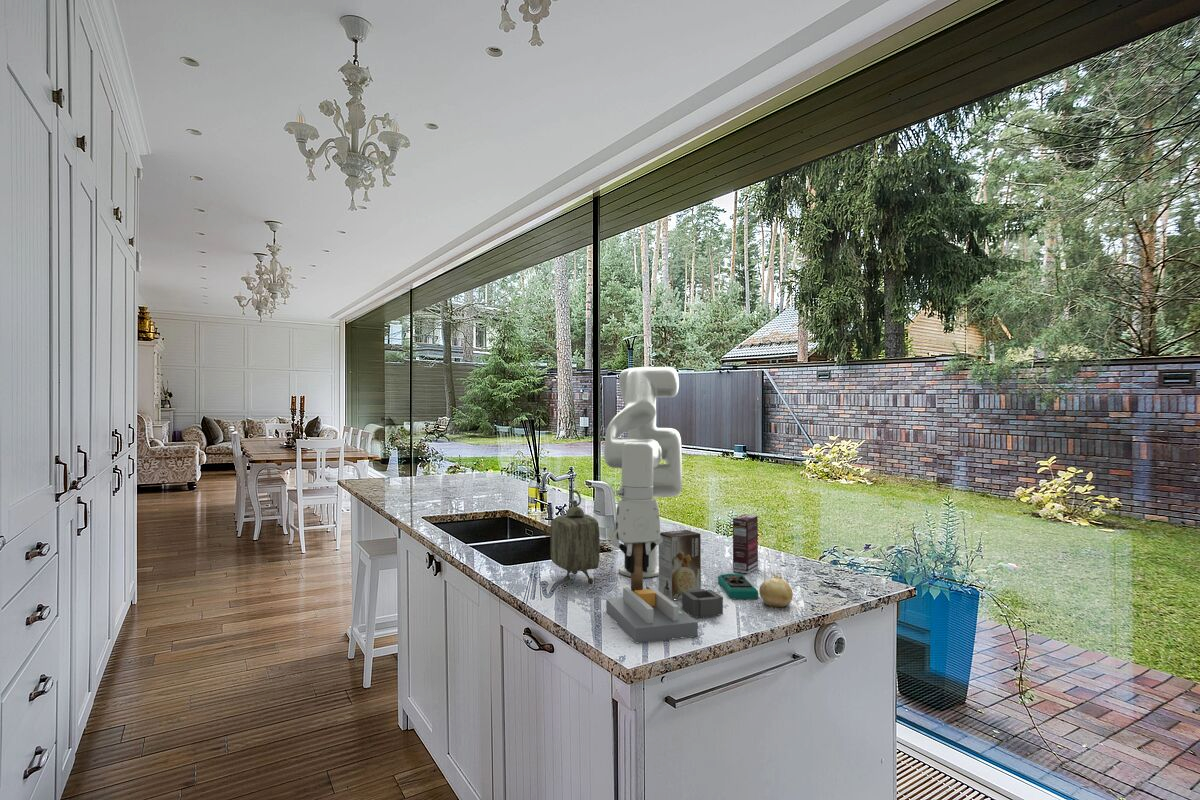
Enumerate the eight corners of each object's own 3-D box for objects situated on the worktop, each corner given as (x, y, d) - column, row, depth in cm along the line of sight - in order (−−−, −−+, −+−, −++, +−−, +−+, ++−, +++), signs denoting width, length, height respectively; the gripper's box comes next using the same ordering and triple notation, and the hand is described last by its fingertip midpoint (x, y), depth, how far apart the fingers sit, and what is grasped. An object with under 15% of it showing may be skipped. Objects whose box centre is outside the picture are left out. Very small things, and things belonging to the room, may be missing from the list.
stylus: (629, 593, 147) (629, 534, 147) (640, 592, 147) (640, 533, 148) (633, 596, 144) (633, 536, 144) (644, 595, 145) (644, 535, 145)
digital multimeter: (743, 583, 171) (743, 573, 171) (758, 600, 156) (758, 589, 156) (717, 583, 171) (717, 573, 171) (730, 600, 156) (730, 589, 156)
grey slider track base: (606, 611, 145) (606, 586, 146) (661, 606, 150) (661, 581, 150) (635, 643, 126) (635, 613, 126) (697, 636, 130) (697, 607, 130)
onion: (799, 608, 149) (799, 578, 149) (770, 611, 147) (770, 581, 147) (780, 598, 157) (780, 570, 157) (753, 600, 155) (753, 572, 155)
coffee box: (686, 589, 164) (687, 528, 164) (701, 596, 158) (701, 533, 158) (657, 594, 159) (658, 532, 159) (671, 601, 154) (672, 536, 154)
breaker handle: (634, 603, 142) (634, 590, 142) (650, 602, 143) (650, 589, 143) (638, 607, 139) (638, 594, 139) (655, 606, 140) (655, 592, 140)
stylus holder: (680, 607, 149) (680, 591, 149) (709, 605, 151) (709, 588, 151) (694, 618, 141) (694, 600, 141) (724, 615, 144) (724, 598, 144)
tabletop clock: (599, 585, 167) (600, 493, 167) (568, 589, 163) (569, 494, 163) (577, 572, 180) (578, 486, 180) (548, 575, 176) (549, 488, 176)
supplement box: (743, 565, 188) (743, 513, 188) (758, 568, 185) (758, 515, 186) (731, 571, 181) (731, 517, 181) (747, 574, 178) (747, 519, 179)
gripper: (609, 496, 140) (608, 578, 140) (675, 494, 145) (674, 572, 145) (599, 492, 147) (599, 569, 147) (662, 490, 152) (662, 565, 152)
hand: (636, 570), depth 146 cm, fingers closed on stylus, 2 cm apart
